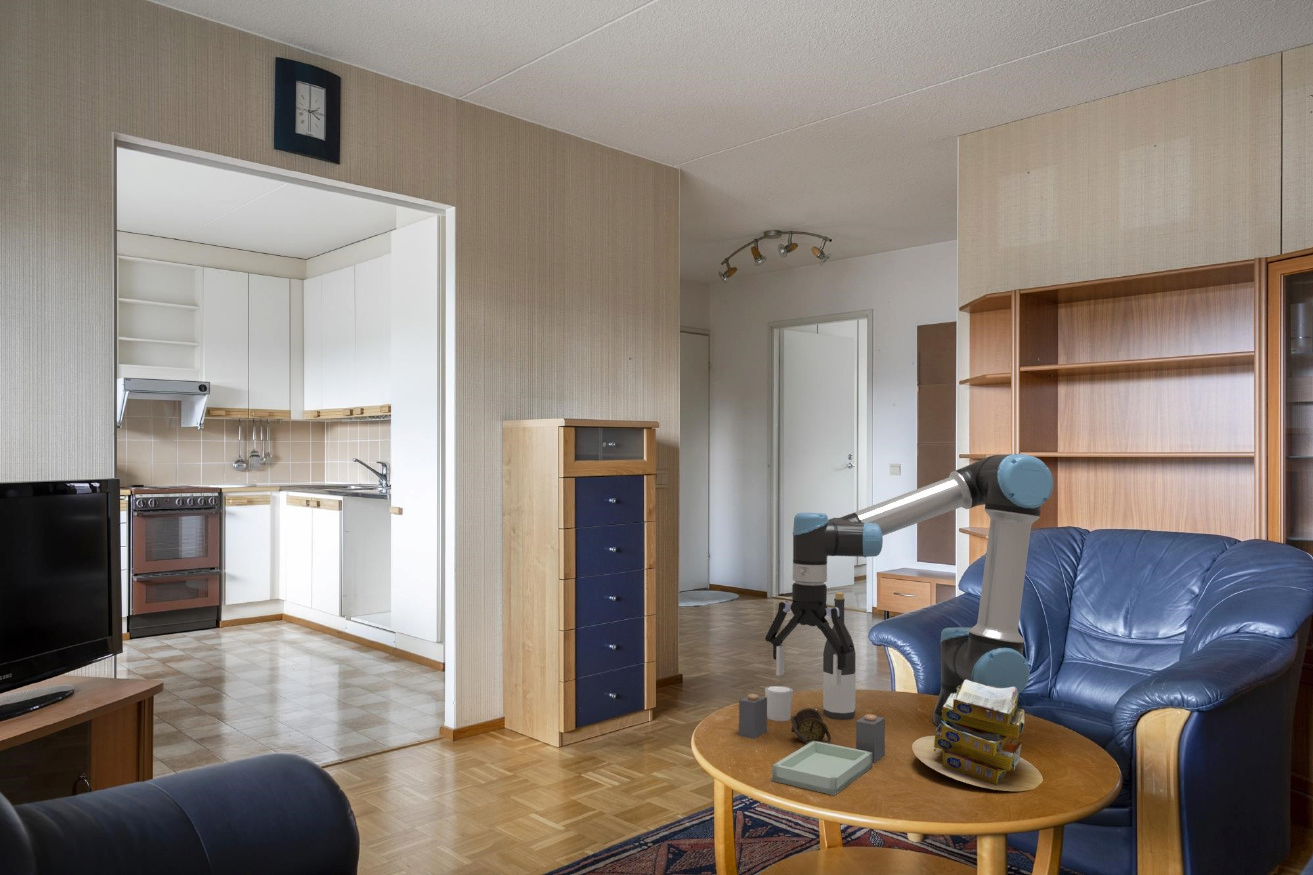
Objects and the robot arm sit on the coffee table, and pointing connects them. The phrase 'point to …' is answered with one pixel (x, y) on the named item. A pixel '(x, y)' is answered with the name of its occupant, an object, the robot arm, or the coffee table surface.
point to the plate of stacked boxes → (980, 740)
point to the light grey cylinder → (779, 702)
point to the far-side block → (752, 716)
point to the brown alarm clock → (809, 726)
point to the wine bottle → (843, 695)
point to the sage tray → (822, 767)
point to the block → (871, 736)
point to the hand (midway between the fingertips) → (808, 679)
